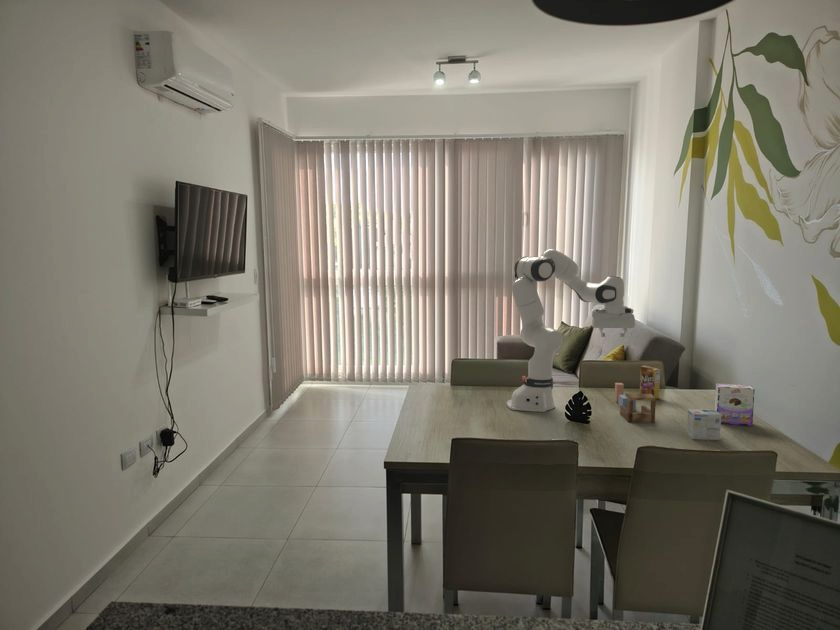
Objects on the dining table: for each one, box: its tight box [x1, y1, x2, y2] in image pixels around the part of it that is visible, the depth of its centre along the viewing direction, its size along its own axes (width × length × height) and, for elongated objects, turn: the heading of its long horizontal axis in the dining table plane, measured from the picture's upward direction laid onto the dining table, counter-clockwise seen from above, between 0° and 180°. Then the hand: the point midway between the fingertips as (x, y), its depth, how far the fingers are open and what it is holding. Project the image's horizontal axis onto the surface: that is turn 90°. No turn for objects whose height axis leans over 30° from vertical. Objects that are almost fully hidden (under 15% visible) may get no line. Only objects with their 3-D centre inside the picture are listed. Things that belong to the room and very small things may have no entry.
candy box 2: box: [714, 383, 756, 427], centre depth 232 cm, size 14×6×16 cm, turn 71°
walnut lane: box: [619, 393, 657, 424], centre depth 239 cm, size 11×12×11 cm
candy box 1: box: [639, 365, 661, 400], centre depth 271 cm, size 9×4×15 cm, turn 28°
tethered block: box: [613, 382, 637, 412], centre depth 257 cm, size 6×17×9 cm, turn 177°
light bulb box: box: [686, 408, 722, 441], centre depth 215 cm, size 11×7×11 cm, turn 84°
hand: (612, 336), depth 267 cm, fingers open, 8 cm apart
